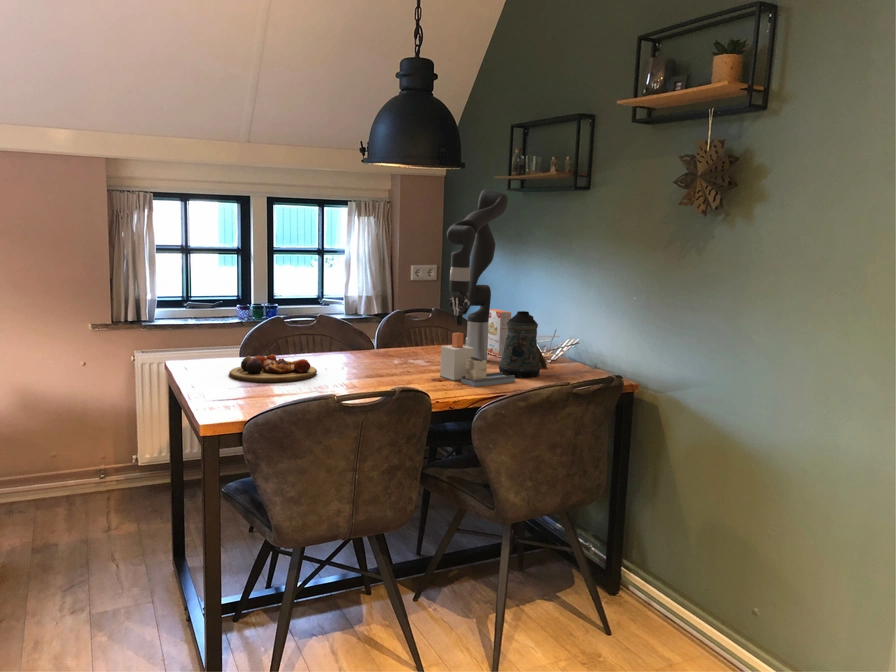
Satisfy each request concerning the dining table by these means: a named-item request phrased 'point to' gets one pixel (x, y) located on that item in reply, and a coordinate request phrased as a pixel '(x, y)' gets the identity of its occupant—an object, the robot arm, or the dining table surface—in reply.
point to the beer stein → (521, 347)
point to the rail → (489, 379)
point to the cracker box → (497, 330)
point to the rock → (541, 359)
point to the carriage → (476, 368)
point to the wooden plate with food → (272, 369)
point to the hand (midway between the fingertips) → (458, 325)
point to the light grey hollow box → (454, 362)
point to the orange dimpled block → (457, 340)
